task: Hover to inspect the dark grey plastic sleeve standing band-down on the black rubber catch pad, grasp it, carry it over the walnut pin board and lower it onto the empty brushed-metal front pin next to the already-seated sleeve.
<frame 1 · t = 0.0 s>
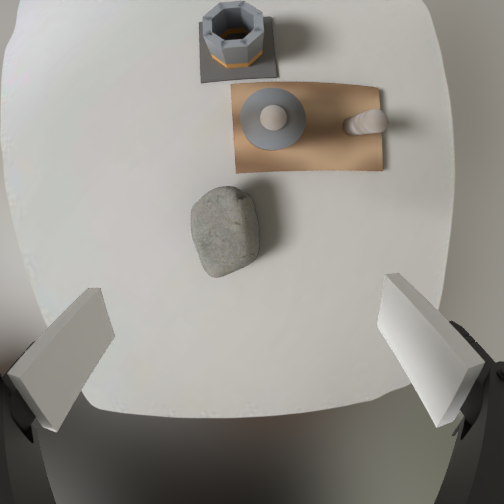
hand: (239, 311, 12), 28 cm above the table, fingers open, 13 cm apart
sleeve: (236, 46, 31), resting on catch pad
pin board: (309, 126, 35), on the table
stone: (226, 221, 40), on the table, touching pin board
catch pad: (236, 47, 31), on the table
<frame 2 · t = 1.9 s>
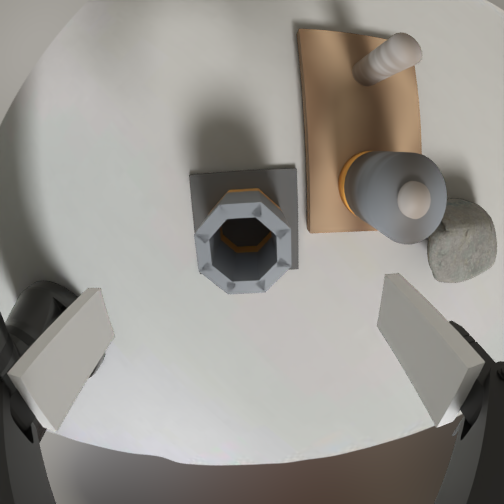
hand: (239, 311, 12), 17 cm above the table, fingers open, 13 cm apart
sleeve: (245, 223, 27), resting on catch pad
pin board: (363, 129, 25), on the table
stone: (439, 233, 29), on the table
catch pad: (245, 222, 28), on the table
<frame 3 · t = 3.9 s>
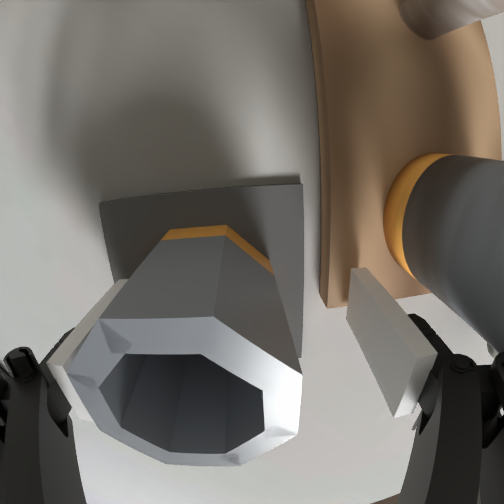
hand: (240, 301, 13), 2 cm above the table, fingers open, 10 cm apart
sleeve: (205, 290, 14), resting on catch pad, touching gripper
pin board: (419, 113, 12), on the table
catch pad: (206, 286, 15), on the table
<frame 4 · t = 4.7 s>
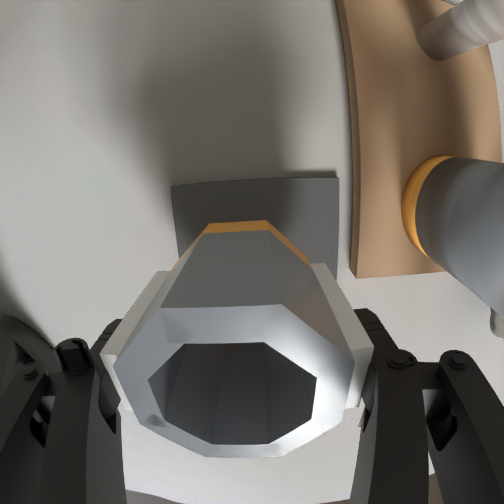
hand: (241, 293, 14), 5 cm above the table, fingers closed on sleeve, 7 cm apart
sleeve: (242, 284, 15), point 4 cm above the table, touching gripper
pin board: (431, 122, 15), on the table
stone: (497, 269, 19), on the table
catch pad: (258, 259, 18), on the table
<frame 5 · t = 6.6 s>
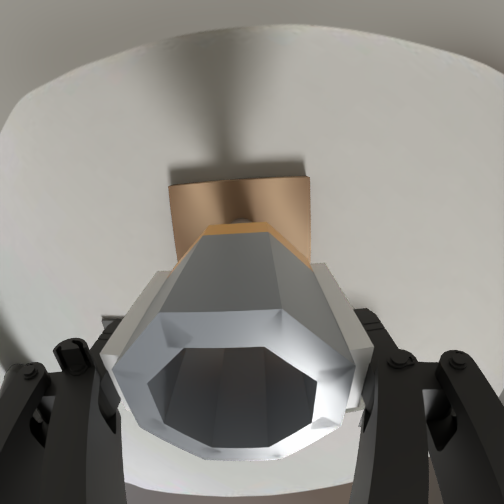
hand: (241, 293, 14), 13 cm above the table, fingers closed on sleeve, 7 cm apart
sleeve: (242, 286, 15), point 12 cm above the table, touching gripper
pin board: (245, 283, 28), on the table
when the fingers open (3 cm above the table, at t = 8.3 s): sleeve stays where it is, resting on pin board.
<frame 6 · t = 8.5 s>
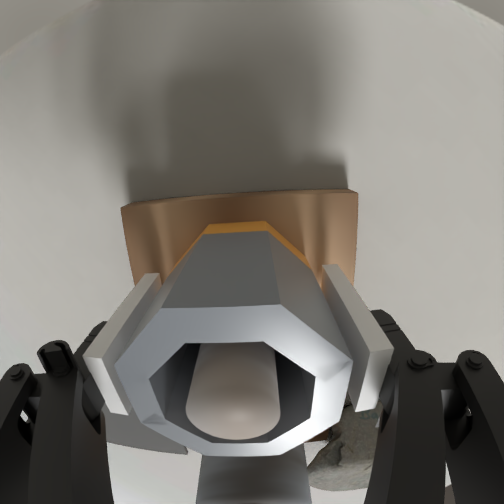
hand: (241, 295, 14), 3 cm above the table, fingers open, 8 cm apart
sleeve: (241, 284, 15), point 1 cm above the table, touching pin board
pin board: (249, 349, 18), on the table
stone: (349, 424, 22), on the table, touching pin board
catch pad: (126, 418, 21), on the table
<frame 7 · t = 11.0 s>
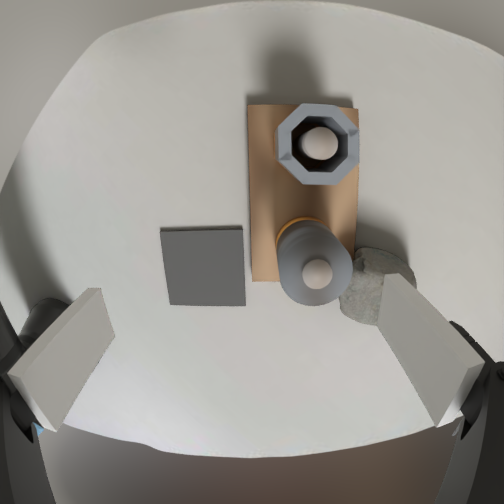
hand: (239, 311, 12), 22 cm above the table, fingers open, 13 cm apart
sleeve: (305, 145, 29), point 1 cm above the table, touching pin board
pin board: (303, 194, 32), on the table
stone: (365, 277, 36), on the table, touching pin board
catch pad: (203, 269, 35), on the table
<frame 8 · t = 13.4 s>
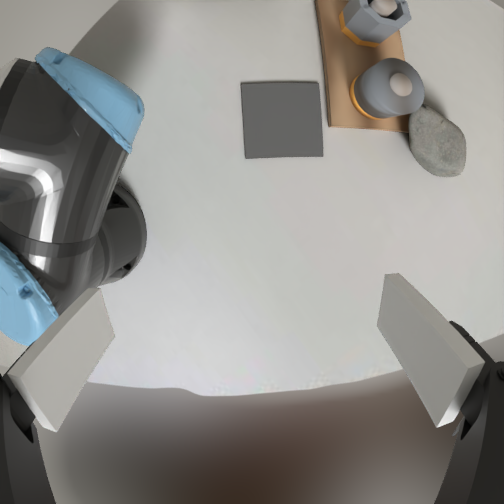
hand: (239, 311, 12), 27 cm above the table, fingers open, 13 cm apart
sleeve: (362, 26, 27), point 1 cm above the table, touching pin board
pin board: (364, 62, 31), on the table
stone: (419, 138, 34), on the table, touching pin board
catch pad: (282, 119, 34), on the table
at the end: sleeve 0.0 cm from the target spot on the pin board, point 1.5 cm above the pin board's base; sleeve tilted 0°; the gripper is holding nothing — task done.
